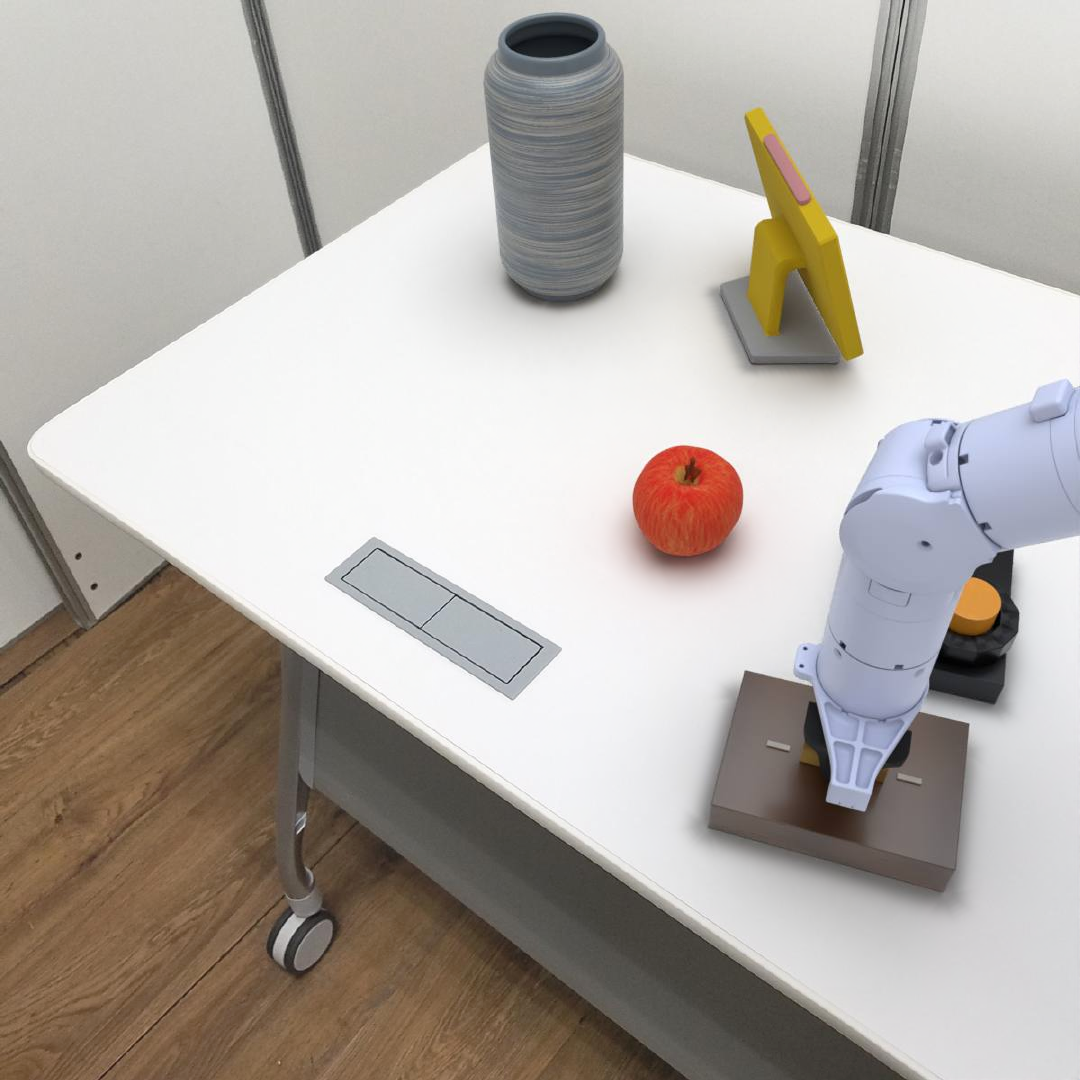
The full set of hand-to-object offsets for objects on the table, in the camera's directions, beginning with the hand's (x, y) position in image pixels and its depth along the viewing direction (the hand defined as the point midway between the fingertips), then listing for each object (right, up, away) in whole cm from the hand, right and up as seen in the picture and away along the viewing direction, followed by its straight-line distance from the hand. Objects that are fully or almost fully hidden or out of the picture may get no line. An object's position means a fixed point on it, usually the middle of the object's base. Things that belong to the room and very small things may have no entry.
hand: (844, 758), depth 66 cm
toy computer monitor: (+3, +33, +33) cm, 47 cm away
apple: (-7, +14, +17) cm, 23 cm away
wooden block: (0, 0, 0) cm, 0 cm away
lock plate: (0, -2, +3) cm, 3 cm away
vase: (-16, +39, +39) cm, 58 cm away
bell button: (+10, +8, +6) cm, 14 cm away
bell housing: (+9, +8, +11) cm, 16 cm away
